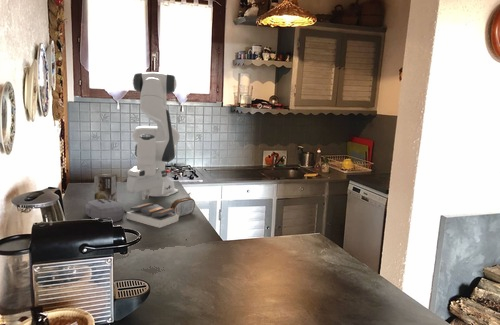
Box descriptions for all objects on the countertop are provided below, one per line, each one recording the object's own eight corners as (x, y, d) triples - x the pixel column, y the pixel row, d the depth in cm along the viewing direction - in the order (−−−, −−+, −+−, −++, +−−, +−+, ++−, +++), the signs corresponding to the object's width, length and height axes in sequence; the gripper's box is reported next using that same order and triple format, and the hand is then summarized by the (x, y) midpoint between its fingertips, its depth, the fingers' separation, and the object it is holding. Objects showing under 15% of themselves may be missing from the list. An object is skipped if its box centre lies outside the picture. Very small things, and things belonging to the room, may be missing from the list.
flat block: (166, 211, 192) (166, 208, 192) (175, 211, 189) (174, 208, 189) (152, 216, 183) (151, 212, 183) (160, 216, 181) (160, 212, 181)
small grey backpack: (79, 214, 190) (99, 226, 177) (80, 197, 189) (99, 207, 175) (110, 210, 201) (131, 220, 187) (110, 193, 200) (131, 203, 186)
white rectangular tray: (134, 209, 204) (134, 203, 204) (178, 220, 191) (178, 214, 191) (113, 215, 193) (114, 208, 192) (159, 227, 180) (159, 220, 179)
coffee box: (116, 205, 209) (117, 174, 206) (111, 208, 202) (111, 177, 200) (99, 203, 209) (100, 173, 207) (93, 207, 203) (93, 175, 200)
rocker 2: (156, 206, 195) (156, 203, 194) (163, 210, 193) (164, 207, 192) (141, 211, 186) (141, 208, 186) (149, 215, 184) (149, 212, 184)
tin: (191, 211, 207) (192, 195, 206) (195, 213, 206) (196, 196, 204) (169, 217, 195) (170, 200, 194) (174, 219, 193) (174, 202, 192)
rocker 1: (145, 206, 198) (145, 203, 198) (153, 206, 195) (153, 202, 195) (130, 210, 189) (130, 207, 189) (138, 210, 187) (138, 207, 187)
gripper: (156, 166, 199) (155, 194, 201) (124, 171, 181) (123, 202, 183) (166, 168, 196) (165, 196, 198) (135, 173, 178) (134, 204, 180)
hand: (145, 199), depth 190 cm, fingers closed
